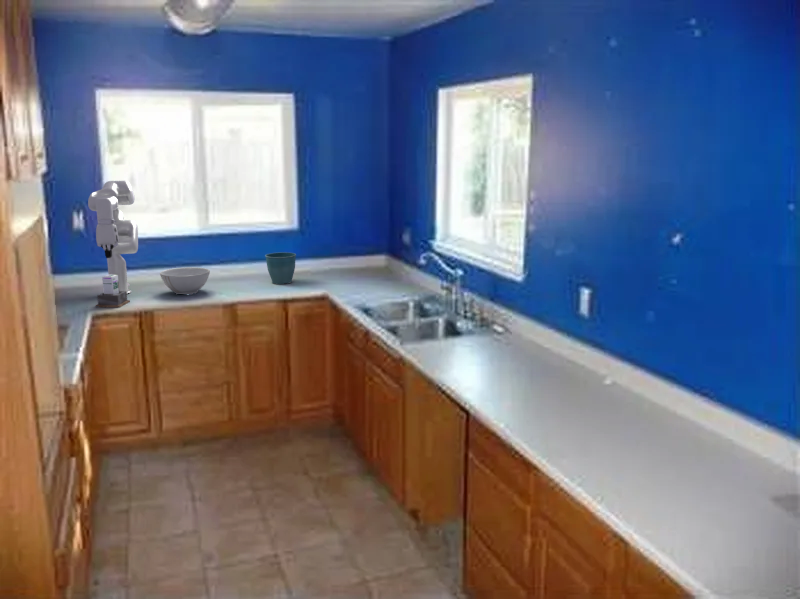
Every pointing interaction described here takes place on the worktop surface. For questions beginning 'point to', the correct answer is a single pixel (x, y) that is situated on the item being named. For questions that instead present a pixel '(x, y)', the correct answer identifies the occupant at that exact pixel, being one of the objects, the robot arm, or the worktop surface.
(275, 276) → the flower pot
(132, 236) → the robot arm
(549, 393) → the worktop surface
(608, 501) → the worktop surface
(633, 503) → the worktop surface
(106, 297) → the dark grey open box
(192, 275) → the decorative bowl
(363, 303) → the worktop surface
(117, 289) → the syrup box
